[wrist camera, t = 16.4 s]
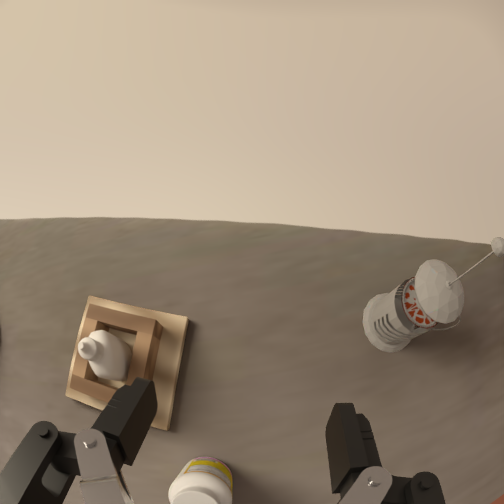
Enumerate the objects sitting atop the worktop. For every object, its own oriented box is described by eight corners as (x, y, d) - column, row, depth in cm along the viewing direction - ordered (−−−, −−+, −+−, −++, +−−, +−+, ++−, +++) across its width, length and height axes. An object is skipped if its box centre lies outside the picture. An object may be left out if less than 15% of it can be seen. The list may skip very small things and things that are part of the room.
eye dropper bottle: (104, 374, 33) (57, 362, 22) (115, 338, 35) (73, 313, 25) (131, 385, 32) (90, 379, 22) (142, 347, 35) (106, 326, 25)
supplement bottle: (206, 503, 26) (195, 544, 15) (173, 471, 28) (145, 502, 17) (243, 478, 29) (247, 514, 17) (209, 446, 31) (196, 470, 19)
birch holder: (169, 429, 31) (158, 434, 27) (70, 395, 32) (50, 393, 27) (188, 319, 39) (182, 308, 34) (93, 298, 39) (77, 285, 34)
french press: (372, 283, 43) (466, 181, 21) (427, 310, 41) (534, 234, 19) (354, 339, 39) (469, 264, 17) (414, 364, 37) (541, 315, 15)
